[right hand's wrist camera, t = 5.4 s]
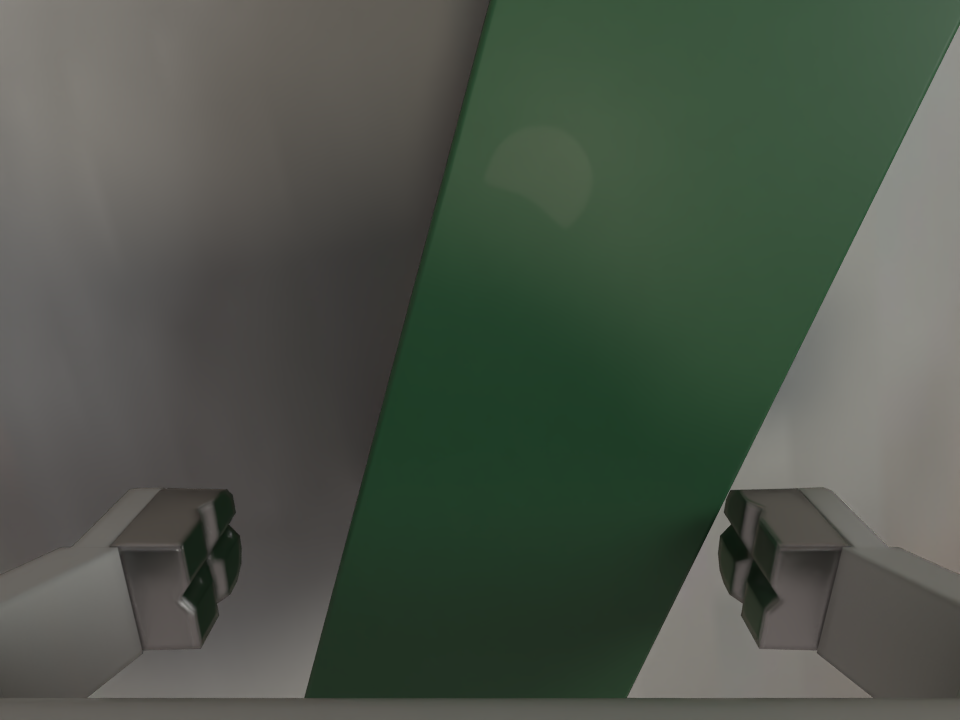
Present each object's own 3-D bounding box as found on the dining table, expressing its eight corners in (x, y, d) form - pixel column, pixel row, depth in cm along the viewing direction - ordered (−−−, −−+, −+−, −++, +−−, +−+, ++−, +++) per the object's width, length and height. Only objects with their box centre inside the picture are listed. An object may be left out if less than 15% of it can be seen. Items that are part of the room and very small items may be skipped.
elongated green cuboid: (566, -224, 12) (685, -743, 5) (805, -134, 13) (1221, -492, 6) (371, 489, 18) (295, 724, 11) (544, 534, 18) (584, 787, 11)
